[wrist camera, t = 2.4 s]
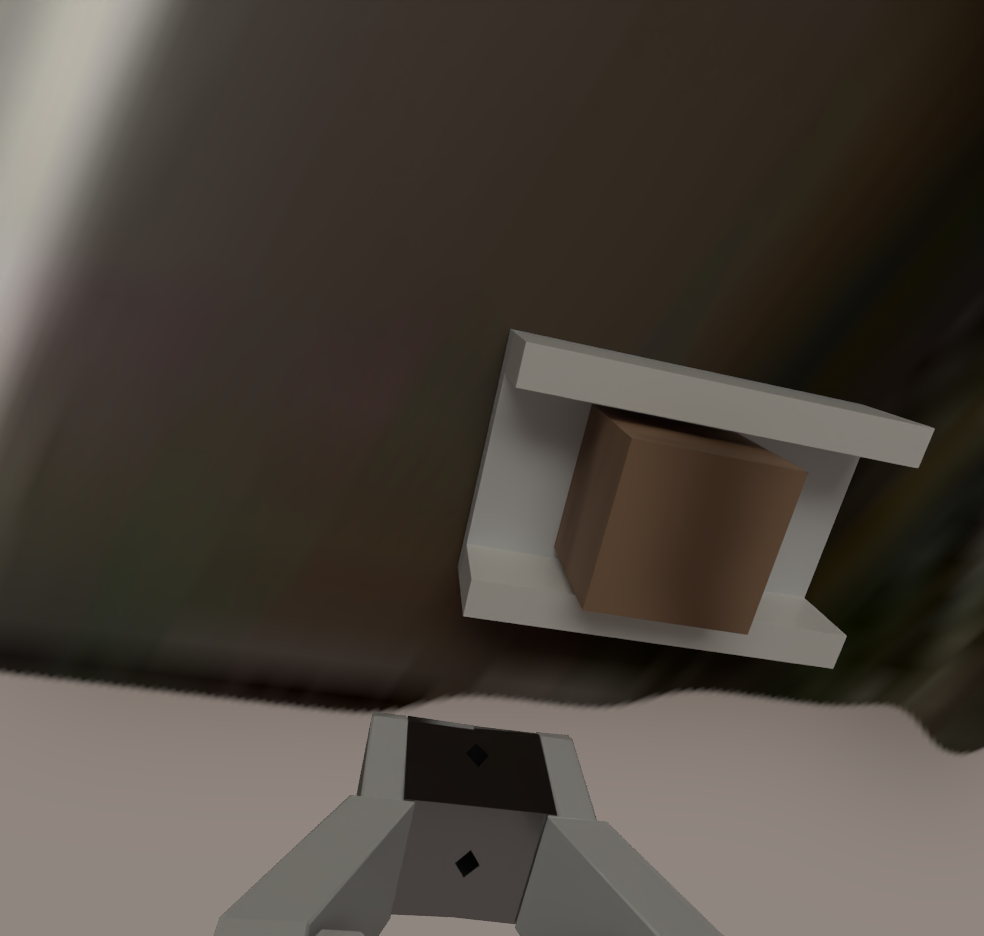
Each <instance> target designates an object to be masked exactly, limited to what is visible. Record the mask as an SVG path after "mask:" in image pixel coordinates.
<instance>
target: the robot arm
mask: <svg viewBox="0 0 984 936" xmlns="http://www.w3.org/2000/svg"><path fill="white" fill-rule="evenodd" d="M391 914H397V915H418V916H439V917H457V918H465V919H474V920H483V921H492V922H501V923H510V924H516V926H515V928H516V930H517V931H518V933H519V935H520V936H723V935H722V934H721V933H720V932H719V931H718V930H717V929H716V928H715V927H714V926H713V925H712V924H711V923H710V922H709V921H708V920H707V919H706V918H705V917H704V916H703V915H702V914H700V912H698V910H697V909H696V908H695V907H693V906H692V905H691V904H690V903H689V902H688V901H687V900H686V899H685V898H684V897H683V896H682V895H681V894H680V893H679V892H678V891H677V890H676V889H675V888H674V887H673V886H672V885H671V884H670V883H669V882H668V881H667V880H666V879H665V878H664V877H663V876H662V875H661V874H660V873H659V872H658V871H657V870H656V869H655V868H653V867H652V866H651V865H650V864H649V863H648V862H647V861H646V860H645V859H644V858H643V857H642V856H641V855H640V854H639V853H638V852H637V851H636V850H635V849H634V848H633V847H632V846H631V845H630V844H629V843H628V842H627V841H626V840H625V839H624V838H622V836H621V835H619V833H618V832H617V831H616V830H615V829H613V828H612V827H611V826H610V825H609V824H608V823H607V822H604V821H597V819H596V816H595V813H594V809H593V806H592V803H591V799H590V796H589V793H588V790H587V786H586V783H585V780H584V776H583V773H582V770H581V766H580V764H579V760H578V757H577V753H576V750H575V747H574V743H573V740H572V739H571V738H570V737H569V736H568V735H560V734H550V733H539V732H537V733H529V732H520V731H512V730H503V729H495V728H485V727H478V726H473V725H466V724H460V723H453V722H446V721H439V720H432V719H425V718H418V717H412V716H408V718H407V717H406V716H403V715H395V714H388V713H380V712H373V715H372V718H371V723H370V728H369V733H368V739H367V744H366V749H365V754H364V760H363V765H362V770H361V775H360V780H359V785H358V791H357V796H354V795H350V796H349V797H348V798H347V799H346V800H345V801H343V802H342V803H341V804H340V805H339V806H338V807H337V808H336V809H335V810H334V811H333V812H332V813H331V814H330V815H328V816H327V817H326V818H325V819H324V820H323V821H322V822H321V823H320V824H319V825H318V826H317V827H316V828H315V829H314V830H312V831H311V832H310V833H309V834H308V835H307V836H306V837H305V838H304V839H303V840H302V841H301V842H300V843H299V844H298V845H296V847H294V848H293V849H292V850H291V851H290V852H289V853H288V854H287V855H286V856H285V857H284V858H283V859H281V860H280V861H279V862H278V863H277V864H276V865H275V866H274V867H273V868H272V869H271V870H270V871H269V872H268V873H267V874H265V875H264V876H263V877H262V879H260V880H259V881H258V882H257V883H256V884H255V885H254V886H253V887H252V888H251V889H249V890H248V891H247V892H246V893H245V894H244V895H243V896H242V897H241V898H240V899H239V900H238V901H237V902H236V903H234V904H233V905H232V906H231V907H230V908H229V909H228V910H227V911H226V912H225V913H224V914H223V915H222V916H221V917H220V918H219V921H218V924H217V927H216V930H215V933H214V936H379V934H380V933H381V931H382V930H383V928H384V927H385V925H386V924H387V922H388V921H389V919H390V916H391Z"/></svg>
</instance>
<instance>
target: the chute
mask: <svg viewBox="0 0 984 936" xmlns="http://www.w3.org/2000/svg"><path fill="white" fill-rule="evenodd" d="M592 404H596V405H601V406H606V407H611V408H616V409H621V410H626V411H631V412H636V413H641V414H646V415H651V416H656V417H661V418H666V419H670V420H675V421H680V422H685V423H690V424H695V425H700V426H705V427H710V428H715V429H720V430H725V431H730V432H735V433H738V434H740V435H742V436H744V437H745V438H747V439H749V440H751V441H753V442H754V443H756V444H758V445H760V446H762V447H763V448H765V449H767V450H769V451H771V452H772V453H774V454H776V455H778V456H780V457H781V458H783V459H785V460H787V461H789V462H791V463H792V464H794V465H796V466H798V467H800V468H801V469H803V470H805V471H807V472H808V475H807V478H806V480H805V483H804V486H803V488H802V491H801V494H800V496H799V499H798V502H797V504H796V507H795V510H794V512H793V515H792V518H791V520H790V523H789V526H788V528H787V531H786V534H785V536H784V539H783V542H782V544H781V547H780V550H779V552H778V555H777V558H776V560H775V563H774V566H773V568H772V571H771V574H770V576H769V579H768V582H767V584H766V587H765V590H764V592H763V595H762V598H761V601H760V603H759V606H758V609H757V611H756V614H755V617H754V619H753V622H752V625H751V627H750V630H749V633H748V635H745V634H738V633H731V632H724V631H718V630H711V629H704V628H697V627H690V626H684V625H677V624H670V623H663V622H656V621H650V620H643V619H636V618H629V617H623V616H616V615H609V614H602V613H595V612H589V611H582V609H581V606H580V604H579V602H578V600H577V598H576V595H575V593H574V591H573V589H572V586H571V584H570V582H569V580H568V577H567V575H566V573H565V571H564V568H563V566H562V564H561V562H560V560H559V557H558V555H557V553H556V551H555V548H554V545H555V541H556V537H557V533H558V530H559V526H560V522H561V518H562V514H563V511H564V507H565V503H566V499H567V496H568V492H569V488H570V484H571V481H572V477H573V473H574V469H575V466H576V462H577V458H578V454H579V450H580V447H581V443H582V439H583V435H584V432H585V428H586V424H587V420H588V417H589V413H590V409H591V405H592ZM934 429H935V428H932V427H929V426H926V425H923V424H920V423H917V422H914V421H910V420H907V419H904V418H901V417H898V416H895V415H892V414H889V413H886V412H883V411H880V410H877V409H874V408H871V407H868V406H865V405H862V404H857V403H852V402H848V401H843V400H838V399H834V398H829V397H825V396H820V395H815V394H811V393H806V392H801V391H797V390H792V389H787V388H783V387H778V386H773V385H769V384H764V383H759V382H755V381H750V380H745V379H741V378H736V377H732V376H727V375H722V374H718V373H713V372H708V371H704V370H699V369H694V368H690V367H685V366H680V365H676V364H671V363H666V362H662V361H657V360H653V359H648V358H643V357H639V356H634V355H629V354H625V353H620V352H615V351H611V350H606V349H601V348H597V347H592V346H587V345H583V344H578V343H573V342H569V341H564V340H560V339H555V338H550V337H546V336H541V335H536V334H532V333H527V332H522V331H518V330H513V329H510V334H509V338H508V343H507V347H506V352H505V356H504V361H503V365H502V370H501V374H500V379H499V383H498V388H497V392H496V397H495V401H494V406H493V410H492V415H491V419H490V424H489V428H488V433H487V437H486V442H485V446H484V451H483V455H482V460H481V464H480V469H479V473H478V478H477V482H476V487H475V492H474V496H473V501H472V505H471V510H470V514H469V519H468V523H467V528H466V532H465V537H464V541H463V546H462V550H461V555H460V559H459V564H458V572H459V582H460V591H461V601H462V610H463V616H465V617H472V618H479V619H486V620H493V621H500V622H507V623H514V624H521V625H528V626H535V627H542V628H550V629H557V630H564V631H571V632H578V633H585V634H592V635H599V636H606V637H613V638H620V639H627V640H634V641H641V642H648V643H655V644H663V645H670V646H677V647H684V648H691V649H698V650H705V651H712V652H719V653H726V654H733V655H740V656H747V657H754V658H761V659H768V660H775V661H783V662H790V663H797V664H804V665H811V666H818V667H825V668H832V669H833V667H834V665H835V663H836V660H837V658H838V656H839V653H840V651H841V649H842V646H843V644H844V642H845V639H846V637H847V636H846V635H845V634H844V633H843V632H842V631H841V630H840V629H838V628H837V627H836V626H835V625H834V624H833V623H832V622H831V621H829V620H828V619H827V618H826V617H825V616H824V615H823V614H822V613H820V612H819V611H818V610H817V609H816V608H815V607H814V606H813V605H811V604H810V603H809V602H808V601H807V600H806V599H805V598H804V597H805V595H806V592H807V589H808V587H809V584H810V582H811V579H812V577H813V574H814V572H815V569H816V567H817V564H818V562H819V559H820V557H821V554H822V552H823V549H824V546H825V544H826V541H827V539H828V536H829V534H830V531H831V529H832V526H833V524H834V521H835V519H836V516H837V514H838V511H839V509H840V506H841V503H842V501H843V498H844V496H845V493H846V491H847V488H848V486H849V483H850V481H851V478H852V476H853V473H854V471H855V468H856V466H857V463H858V460H859V458H860V457H865V458H870V459H875V460H879V461H884V462H889V463H894V464H899V465H904V466H909V467H914V468H918V467H919V465H920V462H921V460H922V458H923V455H924V453H925V451H926V448H927V446H928V444H929V441H930V439H931V437H932V434H933V432H934Z"/></svg>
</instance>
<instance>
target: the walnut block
mask: <svg viewBox="0 0 984 936" xmlns="http://www.w3.org/2000/svg"><path fill="white" fill-rule="evenodd" d="M807 475H808V472H807V471H805V470H803V469H801V468H800V467H798V466H796V465H794V464H792V463H791V462H789V461H787V460H785V459H783V458H781V457H780V456H778V455H776V454H774V453H772V452H771V451H769V450H767V449H765V448H763V447H762V446H760V445H758V444H756V443H754V442H753V441H751V440H749V439H747V438H745V437H744V436H742V435H740V434H738V433H735V432H730V431H725V430H720V429H715V428H710V427H705V426H700V425H695V424H690V423H685V422H680V421H675V420H670V419H666V418H661V417H656V416H651V415H646V414H641V413H636V412H631V411H626V410H621V409H616V408H611V407H606V406H601V405H596V404H592V405H591V409H590V413H589V417H588V420H587V424H586V428H585V432H584V435H583V439H582V443H581V447H580V450H579V454H578V458H577V462H576V466H575V469H574V473H573V477H572V481H571V484H570V488H569V492H568V496H567V499H566V503H565V507H564V511H563V514H562V518H561V522H560V526H559V530H558V533H557V537H556V541H555V545H554V548H555V551H556V553H557V555H558V557H559V560H560V562H561V564H562V566H563V568H564V571H565V573H566V575H567V577H568V580H569V582H570V584H571V586H572V589H573V591H574V593H575V595H576V598H577V600H578V602H579V604H580V606H581V609H582V611H589V612H595V613H602V614H609V615H616V616H623V617H629V618H636V619H643V620H650V621H656V622H663V623H670V624H677V625H684V626H690V627H697V628H704V629H711V630H718V631H724V632H731V633H738V634H745V635H748V633H749V630H750V627H751V625H752V622H753V619H754V617H755V614H756V611H757V609H758V606H759V603H760V601H761V598H762V595H763V592H764V590H765V587H766V584H767V582H768V579H769V576H770V574H771V571H772V568H773V566H774V563H775V560H776V558H777V555H778V552H779V550H780V547H781V544H782V542H783V539H784V536H785V534H786V531H787V528H788V526H789V523H790V520H791V518H792V515H793V512H794V510H795V507H796V504H797V502H798V499H799V496H800V494H801V491H802V488H803V486H804V483H805V480H806V478H807Z"/></svg>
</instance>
